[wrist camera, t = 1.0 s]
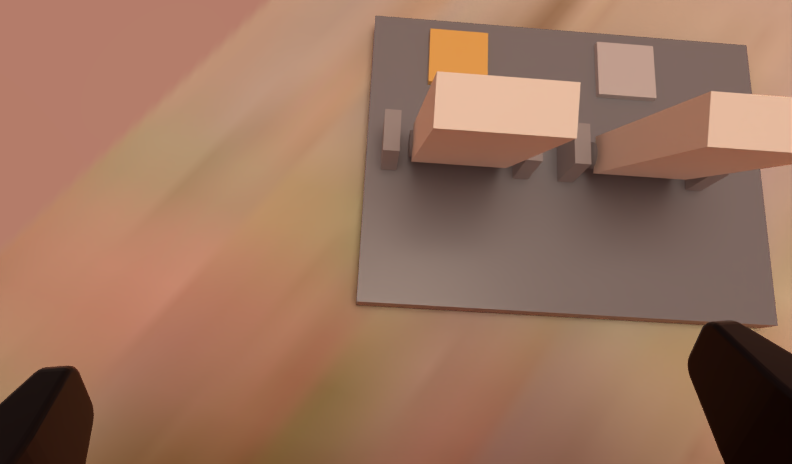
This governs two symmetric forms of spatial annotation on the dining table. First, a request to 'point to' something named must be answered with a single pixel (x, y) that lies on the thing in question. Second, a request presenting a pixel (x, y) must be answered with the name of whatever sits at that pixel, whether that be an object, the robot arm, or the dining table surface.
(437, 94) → the marked lever
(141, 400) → the dining table surface
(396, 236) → the switch unit
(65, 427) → the robot arm
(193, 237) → the dining table surface
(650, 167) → the unmarked lever
